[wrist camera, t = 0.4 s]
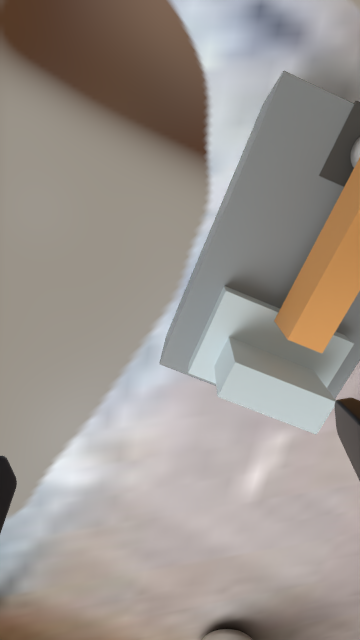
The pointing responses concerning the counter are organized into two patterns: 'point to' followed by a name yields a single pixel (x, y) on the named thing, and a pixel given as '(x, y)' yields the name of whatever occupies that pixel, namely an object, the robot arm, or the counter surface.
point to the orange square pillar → (327, 272)
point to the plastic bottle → (226, 635)
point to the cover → (266, 363)
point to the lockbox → (274, 214)
